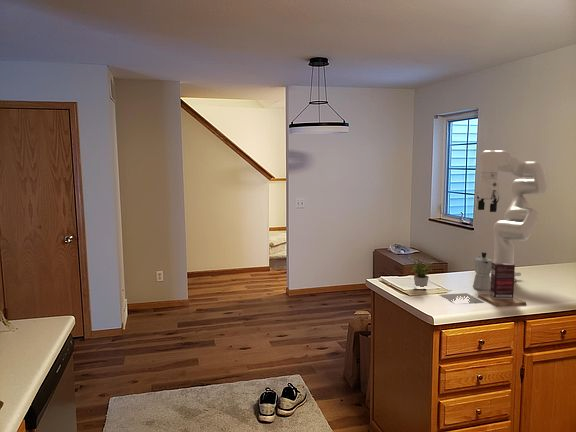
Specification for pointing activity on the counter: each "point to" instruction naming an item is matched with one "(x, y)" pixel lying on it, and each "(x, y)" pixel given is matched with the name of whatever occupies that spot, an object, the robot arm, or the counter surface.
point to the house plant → (421, 273)
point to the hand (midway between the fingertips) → (486, 210)
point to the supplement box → (502, 280)
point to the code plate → (454, 296)
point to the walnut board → (501, 301)
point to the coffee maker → (482, 273)
